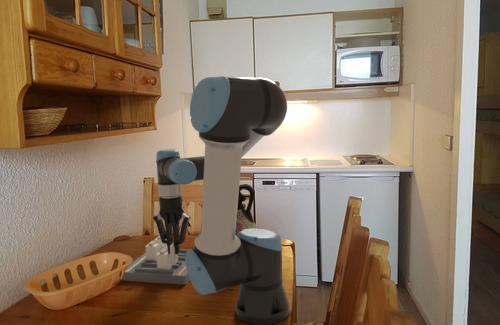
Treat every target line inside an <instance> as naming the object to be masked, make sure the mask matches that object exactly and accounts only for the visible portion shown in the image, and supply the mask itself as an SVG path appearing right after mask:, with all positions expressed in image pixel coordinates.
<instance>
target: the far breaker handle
mask: <svg viewBox="0 0 500 325" xmlns="http://www.w3.org/2000/svg"><path fill="white" fill-rule="evenodd" d="M153 241H156V244H159V247H160V251H161V250H162V249H168V247H167V244H165V243H162V241H161V238H160V234H159V235H158V236H157V237H156V238H154V239H153Z"/></svg>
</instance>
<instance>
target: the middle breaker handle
mask: <svg viewBox="0 0 500 325" xmlns="http://www.w3.org/2000/svg"><path fill="white" fill-rule="evenodd" d="M145 252H146V260H157V256H156V254H157V253H159V252H160V247H159V244H156V241H154V240H151V241H150V242H148V244H146V245H145Z"/></svg>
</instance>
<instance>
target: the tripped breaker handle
mask: <svg viewBox="0 0 500 325" xmlns="http://www.w3.org/2000/svg"><path fill="white" fill-rule="evenodd" d="M156 256H157V269H168V270H170V269H171V268H172V264H171V258H170V254H168V249H162V250H161V251H160V252H159V253H157V254H156Z"/></svg>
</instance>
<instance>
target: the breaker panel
mask: <svg viewBox="0 0 500 325" xmlns="http://www.w3.org/2000/svg"><path fill="white" fill-rule="evenodd" d="M188 250H189V249H183V248H180V253H179V254H178V262H177V263H176V264H172V268H171V269H170V270H168V269H157V260H146V251H145V252H144V253H142V255H140V256H139V257H138V258H136V259H135V260H133V262H131V263H129V266H128V265H127V266H128V267H127V266H126V267H127V269H126V270H125V272H124V275H123V277H122V280H121V281H124V282H125V281H127V282H139V283H140V282H141V283H154V284H168V285H170V284H171V285H185V286H186V285H188V283H189V281H191V280H190V278H189V275H188V272H187V268H186V263H185V254H186V252H187V251H188Z"/></svg>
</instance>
